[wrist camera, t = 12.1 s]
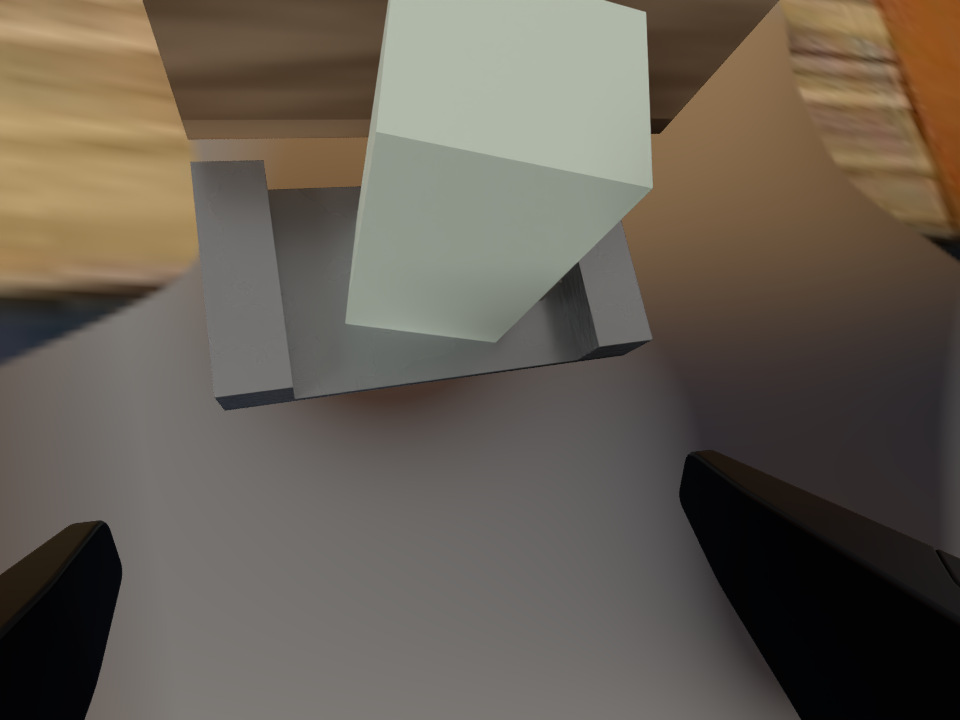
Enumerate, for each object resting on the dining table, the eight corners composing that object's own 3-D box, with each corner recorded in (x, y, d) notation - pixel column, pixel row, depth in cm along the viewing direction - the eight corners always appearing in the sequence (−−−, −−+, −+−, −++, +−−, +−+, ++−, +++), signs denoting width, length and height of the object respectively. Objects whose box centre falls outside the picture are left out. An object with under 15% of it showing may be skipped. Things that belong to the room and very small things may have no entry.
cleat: (623, 355, 22) (652, 339, 20) (224, 410, 18) (214, 397, 16) (579, 182, 23) (603, 152, 21) (202, 196, 19) (190, 162, 17)
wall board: (659, 133, 25) (837, -65, 16) (187, 139, 19) (93, -151, 11) (641, 67, 25) (801, -155, 17) (179, 55, 20) (83, -279, 12)
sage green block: (518, 345, 20) (691, 196, 11) (344, 323, 19) (376, 132, 10) (521, 239, 21) (681, 22, 12) (357, 211, 20) (396, -59, 11)
